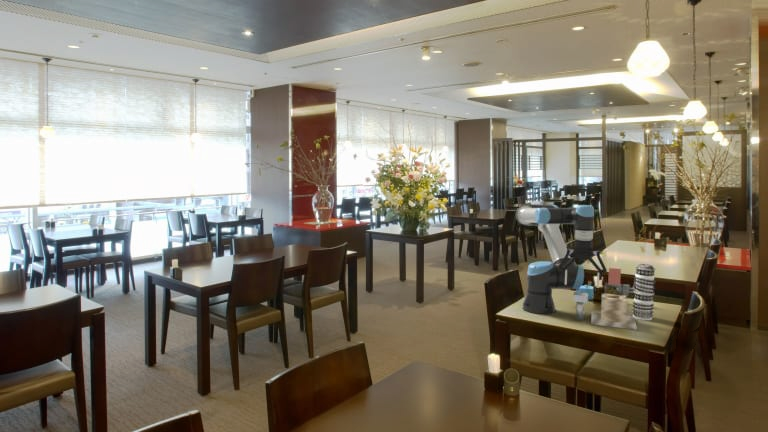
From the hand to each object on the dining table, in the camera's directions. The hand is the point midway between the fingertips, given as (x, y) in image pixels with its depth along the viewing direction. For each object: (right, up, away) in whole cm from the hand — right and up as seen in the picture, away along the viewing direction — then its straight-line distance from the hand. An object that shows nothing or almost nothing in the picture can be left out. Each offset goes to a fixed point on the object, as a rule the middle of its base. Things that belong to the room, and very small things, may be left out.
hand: (581, 285), depth 227 cm
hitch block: (+14, -16, -1) cm, 21 cm away
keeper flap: (+17, +3, +3) cm, 17 cm away
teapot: (+18, -13, +38) cm, 44 cm away
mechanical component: (+34, -14, +30) cm, 47 cm away
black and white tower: (+31, -16, +6) cm, 35 cm away
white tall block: (0, -16, +2) cm, 16 cm away
